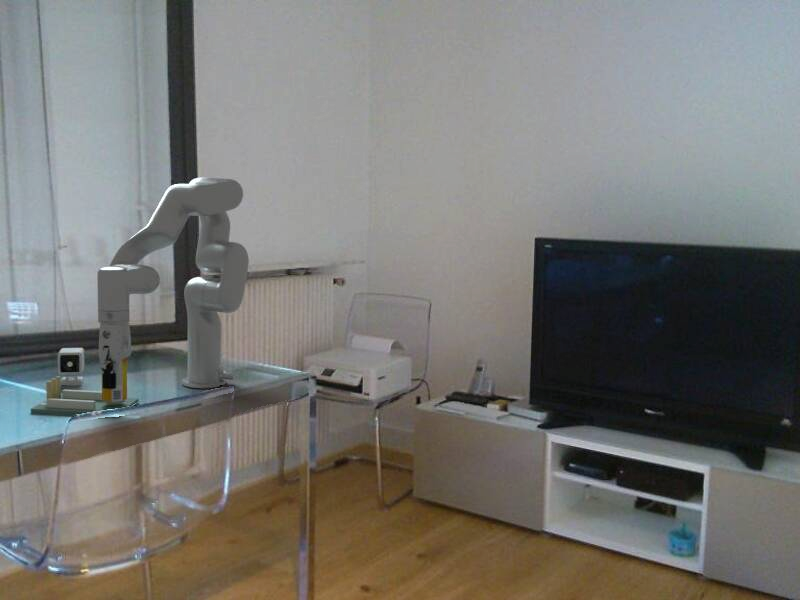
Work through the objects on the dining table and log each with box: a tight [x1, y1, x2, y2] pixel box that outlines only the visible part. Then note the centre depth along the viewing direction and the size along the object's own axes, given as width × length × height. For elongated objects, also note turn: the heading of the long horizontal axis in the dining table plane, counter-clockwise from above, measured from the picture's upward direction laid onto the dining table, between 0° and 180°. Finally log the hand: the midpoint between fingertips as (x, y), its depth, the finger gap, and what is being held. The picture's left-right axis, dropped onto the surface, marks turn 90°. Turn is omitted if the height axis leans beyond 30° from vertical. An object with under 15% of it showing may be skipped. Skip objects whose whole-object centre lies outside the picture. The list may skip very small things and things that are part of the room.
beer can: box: [101, 348, 128, 404], centre depth 201 cm, size 6×6×15 cm
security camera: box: [57, 347, 85, 387], centre depth 224 cm, size 6×7×10 cm
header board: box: [30, 375, 140, 417], centre depth 202 cm, size 22×14×7 cm, turn 88°
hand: (114, 384), depth 201 cm, fingers closed on beer can, 6 cm apart
